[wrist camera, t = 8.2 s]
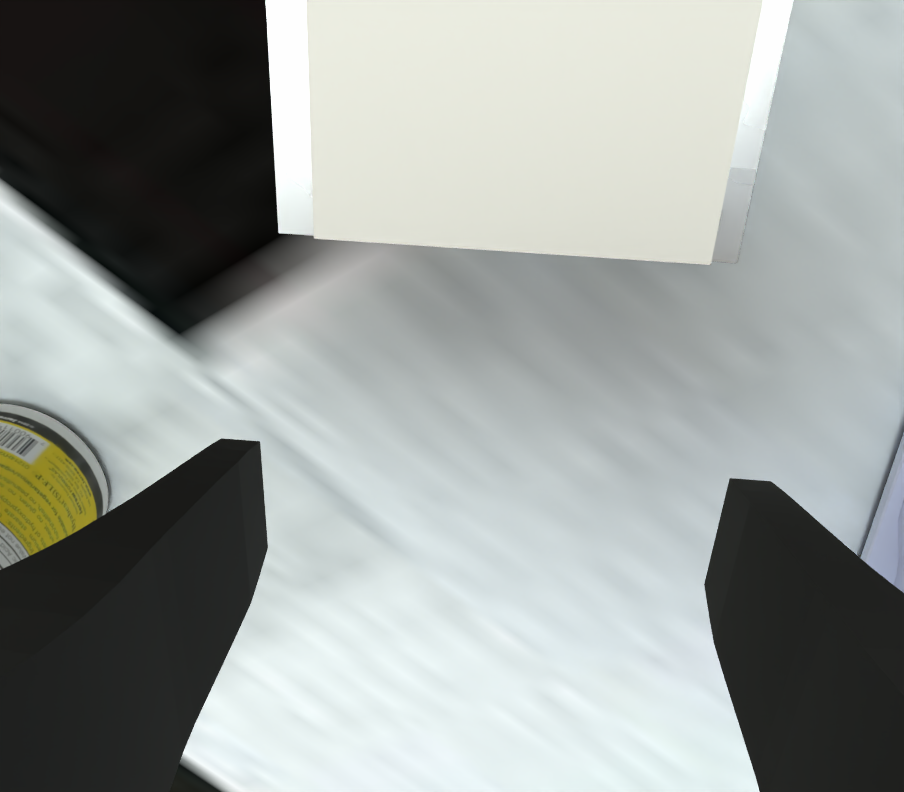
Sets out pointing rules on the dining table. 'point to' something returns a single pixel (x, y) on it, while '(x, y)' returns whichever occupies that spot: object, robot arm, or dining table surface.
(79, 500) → the supplement bottle
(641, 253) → the rectangular block
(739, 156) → the stand
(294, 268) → the dining table surface
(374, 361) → the dining table surface
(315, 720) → the dining table surface
